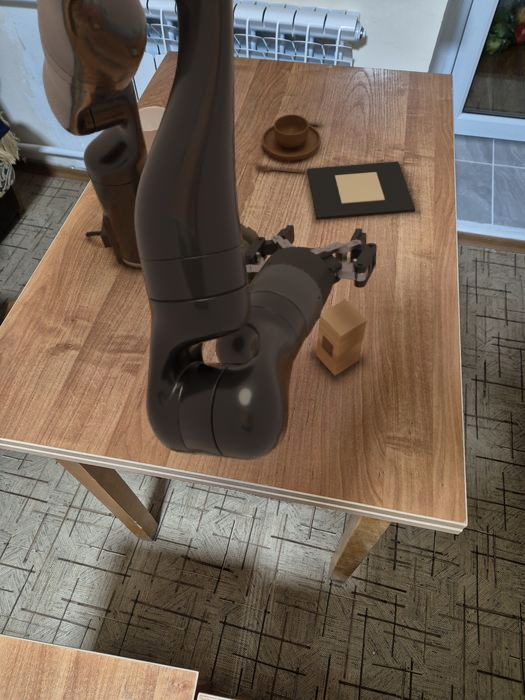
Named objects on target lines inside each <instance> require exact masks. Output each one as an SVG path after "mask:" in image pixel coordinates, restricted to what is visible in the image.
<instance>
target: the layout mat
mask: <svg viewBox="0 0 525 700" xmlns="http://www.w3.org/2000/svg"><path fill="white" fill-rule="evenodd" d="M399 162H400V161H397V160H396V161H387V162H386V161H385V162H375V163H362V164H361V163H360V164H349V165H336V166H323V167H312V168H307V169H306V172H307V178H308V182H309V183H308V184H309V187H310V192H311V198H312V203H313V208H314V212H315V213H314V214H315V218H316V220H330V219H341V218H342V219H343V218H355V217H365V216H377V215H388V214H390V215H391V214H401V213H402V214H403V213H414V212H416V207H415V204H414V201H413V198H412V196H411V193H410V191H409V187H408V185H407V182H406V179H405V176H404V174H403V171H402V168H401V165H400V163H399Z"/></svg>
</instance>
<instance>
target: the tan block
mask: <svg viewBox="0 0 525 700" xmlns="http://www.w3.org/2000/svg"><path fill="white" fill-rule="evenodd" d="M367 322H368V319H367V318H366V317H365V316H364V315H362V314H361V312H360V311H359V310H358V309H357V308H355V307H354V305H352V304H351V303H350V302H349V300H347V299H346V298H344V299H343V300H341V301H339V302H338V303H336V304H335V305H333V306H331V307H329V308H328V309H326V310H324V311H322V312H321V315H320V318H319V319H318V328H317V339H316V349H315V356H316V357H317V358H318V359H319V361H320V362H322V363H323V364H324V366H326V368H327V369H328V370H329V371H330V372H331V373H332V375H333V376H337V375H338V374H340V373H341V372H343V371H344V370H346V369H348V368H350V367H351V366H353V365H354V364H355V363H357V362H358V361H359V360H360V355H361V350H362V346H363V341H364V336H365V333H366V327H367Z"/></svg>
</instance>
